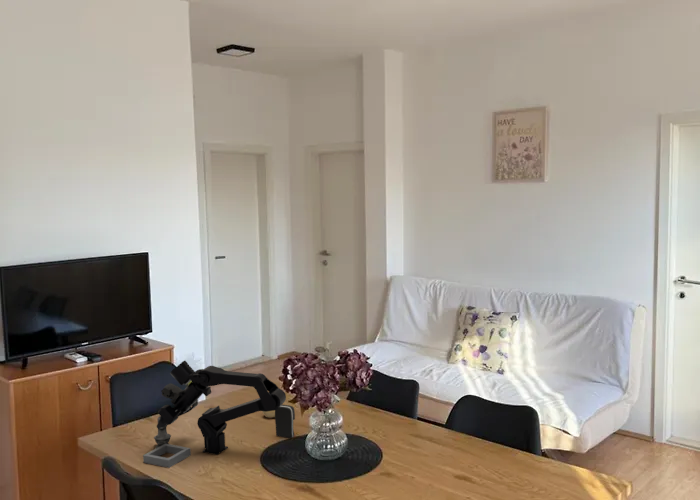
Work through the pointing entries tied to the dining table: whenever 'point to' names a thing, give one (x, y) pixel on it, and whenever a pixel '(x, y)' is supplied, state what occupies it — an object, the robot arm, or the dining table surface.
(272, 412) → the onion
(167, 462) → the frame
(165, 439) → the grey tall tiered piece
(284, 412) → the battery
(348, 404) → the dining table surface
